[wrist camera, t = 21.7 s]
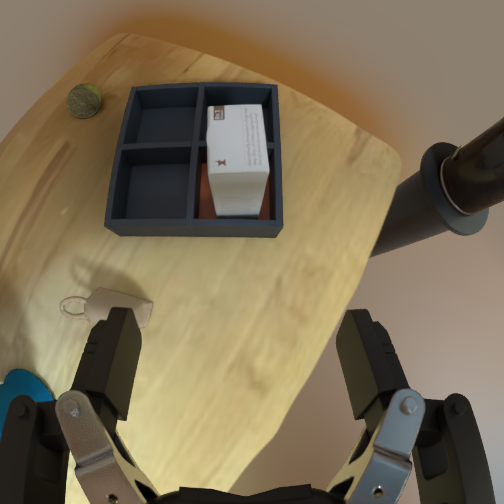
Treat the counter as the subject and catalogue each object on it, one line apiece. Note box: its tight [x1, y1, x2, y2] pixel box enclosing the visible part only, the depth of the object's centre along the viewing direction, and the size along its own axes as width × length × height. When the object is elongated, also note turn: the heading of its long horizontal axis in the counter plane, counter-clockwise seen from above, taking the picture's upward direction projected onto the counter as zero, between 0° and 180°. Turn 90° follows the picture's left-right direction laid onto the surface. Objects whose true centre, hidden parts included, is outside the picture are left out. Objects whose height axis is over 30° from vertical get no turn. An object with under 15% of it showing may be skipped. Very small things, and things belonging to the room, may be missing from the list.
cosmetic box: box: [206, 104, 270, 220], centre depth 25 cm, size 6×4×12 cm
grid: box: [104, 82, 283, 238], centre depth 30 cm, size 17×17×5 cm
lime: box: [67, 84, 101, 118], centre depth 30 cm, size 4×5×5 cm
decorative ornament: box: [60, 287, 153, 328], centre depth 26 cm, size 4×8×5 cm, turn 76°
